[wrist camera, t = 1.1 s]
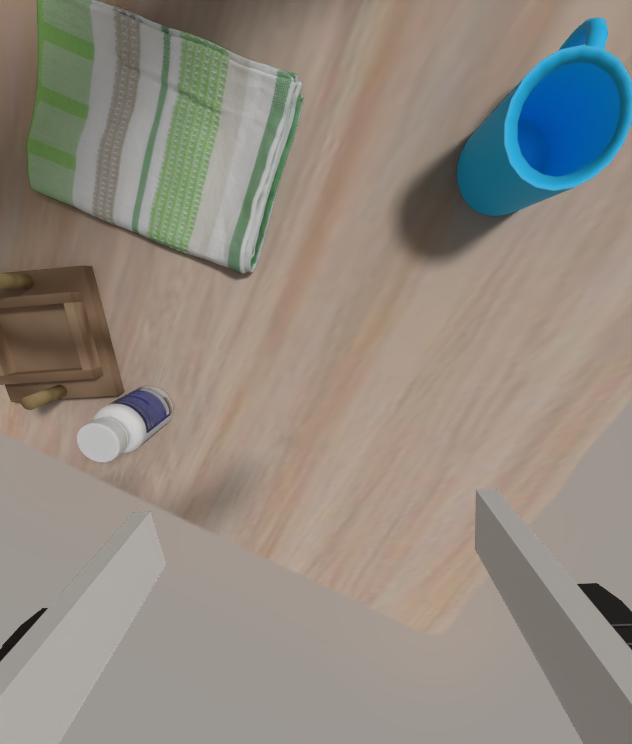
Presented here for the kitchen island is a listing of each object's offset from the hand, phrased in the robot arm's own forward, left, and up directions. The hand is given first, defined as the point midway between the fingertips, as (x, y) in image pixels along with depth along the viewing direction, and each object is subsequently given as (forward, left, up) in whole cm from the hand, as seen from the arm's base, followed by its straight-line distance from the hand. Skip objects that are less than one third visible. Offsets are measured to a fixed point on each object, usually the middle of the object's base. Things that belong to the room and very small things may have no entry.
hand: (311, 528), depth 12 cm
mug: (-20, +18, -23) cm, 36 cm away
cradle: (-6, -30, -23) cm, 38 cm away
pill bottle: (+3, -21, -23) cm, 31 cm away
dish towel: (-23, -13, -24) cm, 36 cm away
